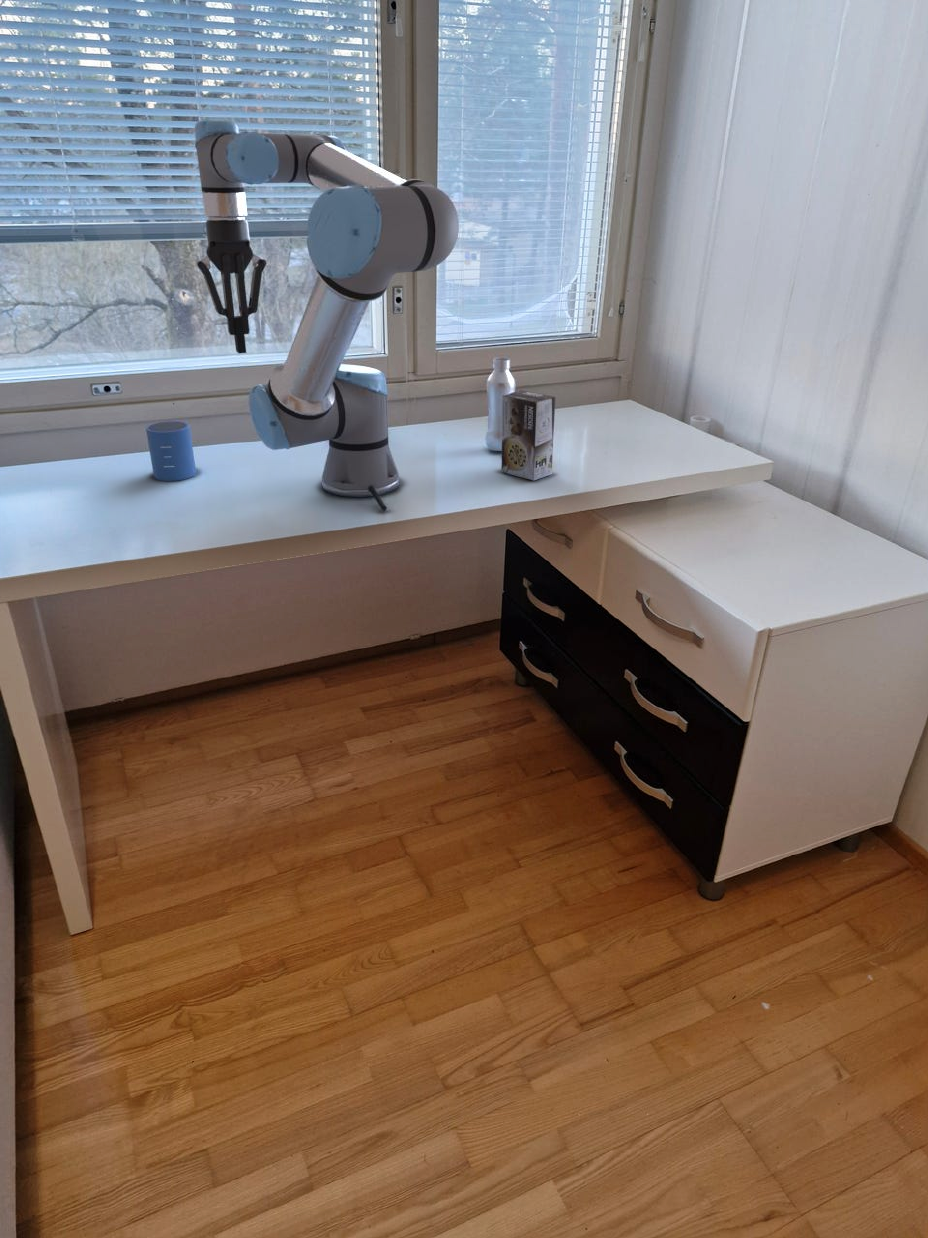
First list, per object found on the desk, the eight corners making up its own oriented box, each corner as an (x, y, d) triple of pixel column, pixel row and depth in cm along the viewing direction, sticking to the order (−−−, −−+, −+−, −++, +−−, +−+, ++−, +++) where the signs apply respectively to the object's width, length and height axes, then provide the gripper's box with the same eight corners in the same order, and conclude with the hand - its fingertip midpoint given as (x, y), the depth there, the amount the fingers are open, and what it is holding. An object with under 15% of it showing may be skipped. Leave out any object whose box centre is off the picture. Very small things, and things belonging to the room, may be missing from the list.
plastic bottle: (519, 448, 196) (522, 358, 187) (504, 456, 191) (507, 363, 182) (494, 444, 199) (496, 354, 190) (479, 451, 194) (480, 359, 185)
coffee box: (553, 474, 180) (557, 396, 173) (533, 481, 176) (537, 401, 169) (519, 465, 186) (521, 388, 178) (499, 471, 182) (501, 394, 174)
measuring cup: (158, 468, 182) (199, 467, 183) (149, 481, 175) (192, 480, 176) (150, 421, 178) (192, 420, 178) (141, 432, 170) (185, 431, 171)
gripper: (258, 216, 163) (270, 346, 174) (186, 217, 159) (203, 350, 170) (266, 218, 157) (278, 352, 168) (192, 220, 153) (210, 357, 164)
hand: (241, 351), depth 169 cm, fingers closed
